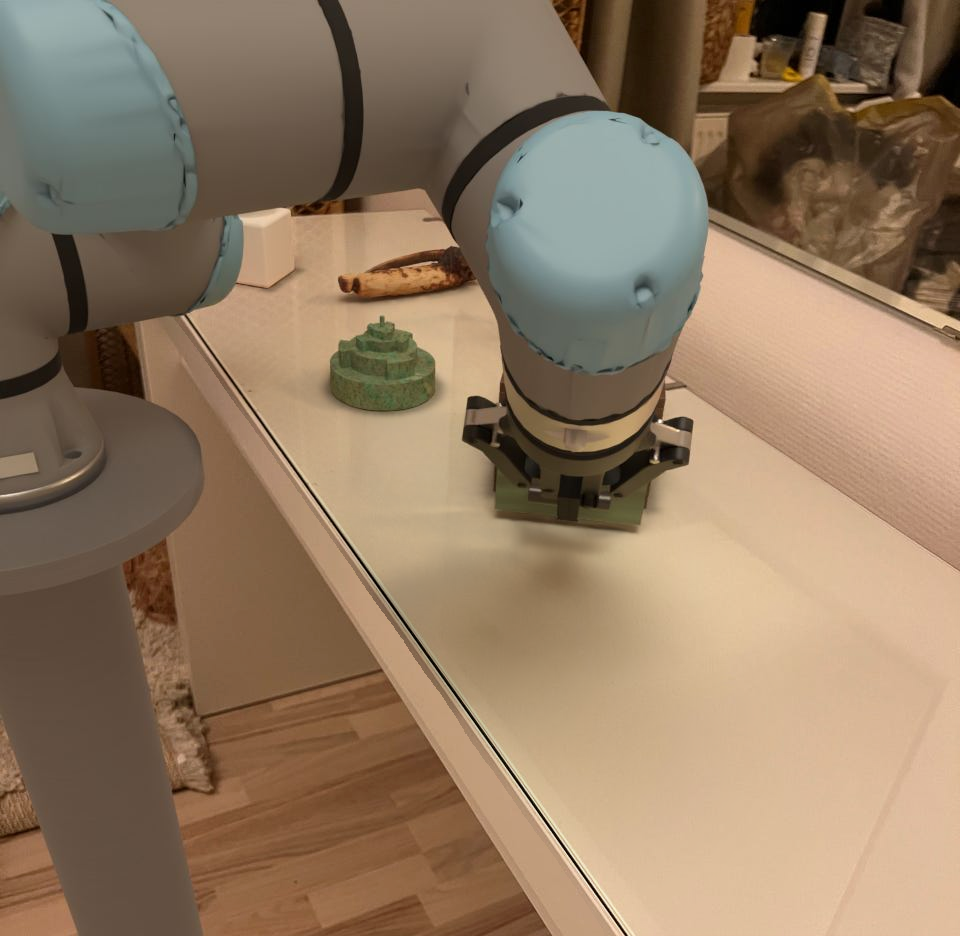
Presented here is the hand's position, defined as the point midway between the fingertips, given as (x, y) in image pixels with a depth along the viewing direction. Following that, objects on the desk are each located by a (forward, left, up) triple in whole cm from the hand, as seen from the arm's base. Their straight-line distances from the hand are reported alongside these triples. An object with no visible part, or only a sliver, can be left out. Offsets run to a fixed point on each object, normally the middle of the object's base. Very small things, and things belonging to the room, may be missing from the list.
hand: (569, 502), depth 71 cm
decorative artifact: (-32, -1, -5) cm, 33 cm away
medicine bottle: (-66, -3, -5) cm, 66 cm away
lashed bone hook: (-56, +12, -5) cm, 58 cm away
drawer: (-8, +5, -4) cm, 10 cm away
